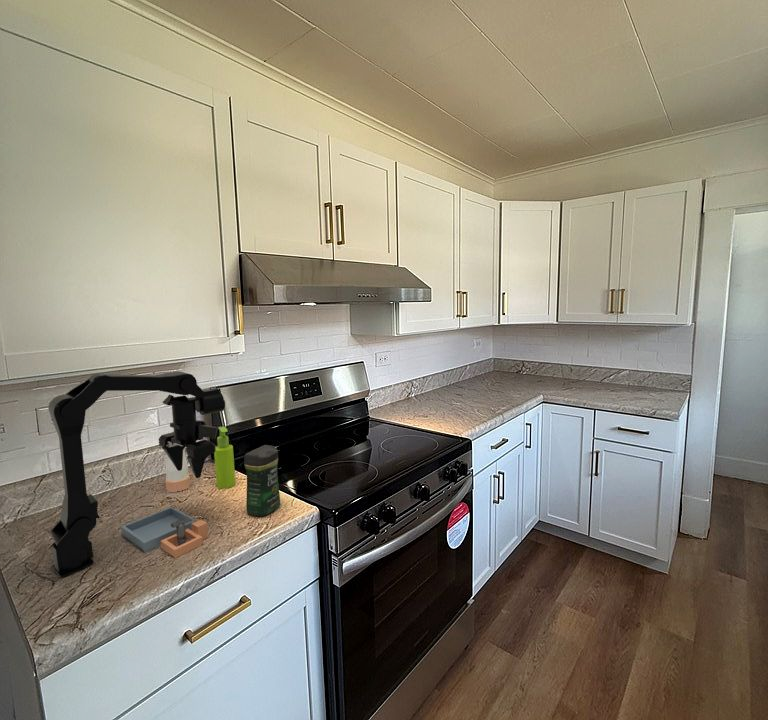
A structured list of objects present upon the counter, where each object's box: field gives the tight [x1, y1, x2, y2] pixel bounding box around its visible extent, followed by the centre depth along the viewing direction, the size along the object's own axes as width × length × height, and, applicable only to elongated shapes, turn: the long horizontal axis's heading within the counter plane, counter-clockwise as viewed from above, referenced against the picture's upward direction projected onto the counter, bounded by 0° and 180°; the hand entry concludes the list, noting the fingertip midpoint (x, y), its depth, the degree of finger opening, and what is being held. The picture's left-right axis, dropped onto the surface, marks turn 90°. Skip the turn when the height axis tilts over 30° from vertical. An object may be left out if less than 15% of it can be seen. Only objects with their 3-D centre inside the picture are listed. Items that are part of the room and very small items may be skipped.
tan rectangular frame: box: [160, 519, 209, 559], centre depth 106 cm, size 10×7×4 cm
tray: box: [120, 506, 198, 553], centre depth 112 cm, size 13×13×2 cm
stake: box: [171, 517, 189, 547], centre depth 104 cm, size 4×2×7 cm, turn 143°
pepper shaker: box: [165, 430, 191, 493], centre depth 138 cm, size 7×7×19 cm
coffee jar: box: [243, 444, 281, 517], centre depth 122 cm, size 10×8×19 cm
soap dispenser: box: [213, 426, 236, 490], centre depth 139 cm, size 6×7×20 cm
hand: (188, 473), depth 115 cm, fingers open, 9 cm apart
